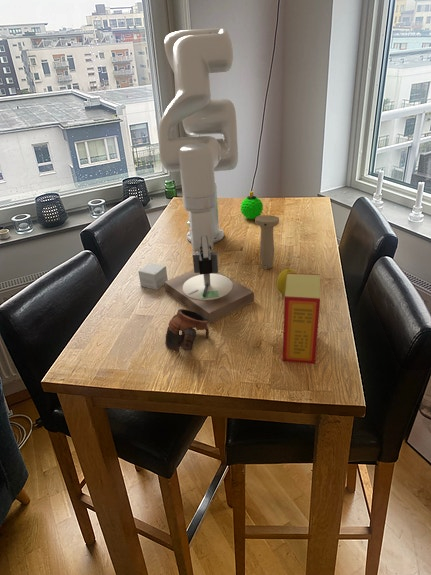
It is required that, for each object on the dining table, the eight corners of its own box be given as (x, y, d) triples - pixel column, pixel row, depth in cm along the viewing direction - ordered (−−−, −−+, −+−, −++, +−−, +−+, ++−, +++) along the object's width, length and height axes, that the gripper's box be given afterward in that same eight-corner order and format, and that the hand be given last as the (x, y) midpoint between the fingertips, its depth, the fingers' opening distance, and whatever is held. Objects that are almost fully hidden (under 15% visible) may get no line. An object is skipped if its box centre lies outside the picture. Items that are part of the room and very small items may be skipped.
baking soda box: (285, 333, 95) (287, 271, 87) (314, 335, 94) (319, 272, 86) (282, 361, 87) (284, 295, 79) (314, 363, 86) (320, 297, 78)
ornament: (257, 224, 150) (256, 196, 145) (237, 220, 154) (236, 194, 149) (266, 216, 156) (266, 189, 151) (246, 213, 160) (246, 187, 154)
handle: (276, 272, 119) (277, 222, 112) (254, 270, 121) (253, 221, 114) (279, 264, 123) (280, 216, 116) (257, 262, 125) (257, 214, 117)
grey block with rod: (192, 297, 104) (188, 265, 99) (196, 283, 110) (193, 252, 105) (216, 297, 103) (214, 265, 99) (219, 283, 109) (217, 252, 104)
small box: (168, 280, 119) (166, 265, 117) (157, 290, 115) (154, 274, 112) (152, 277, 122) (149, 261, 119) (140, 286, 117) (137, 271, 115)
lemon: (285, 304, 105) (286, 276, 101) (272, 294, 109) (272, 267, 105) (303, 298, 107) (304, 270, 103) (289, 288, 112) (290, 261, 107)
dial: (173, 286, 110) (172, 284, 110) (212, 269, 117) (212, 268, 117) (202, 306, 101) (202, 304, 101) (243, 287, 108) (243, 285, 108)
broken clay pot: (159, 336, 98) (171, 303, 97) (197, 345, 101) (209, 314, 99) (165, 357, 87) (178, 320, 85) (208, 367, 89) (221, 332, 88)
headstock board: (165, 291, 114) (164, 281, 113) (207, 273, 121) (206, 264, 120) (210, 323, 100) (209, 313, 99) (254, 301, 107) (253, 291, 106)
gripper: (181, 191, 104) (188, 257, 113) (185, 214, 90) (193, 288, 99) (211, 188, 104) (216, 254, 114) (220, 211, 91) (224, 284, 100)
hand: (205, 269), depth 107 cm, fingers closed on grey block with rod, 2 cm apart
